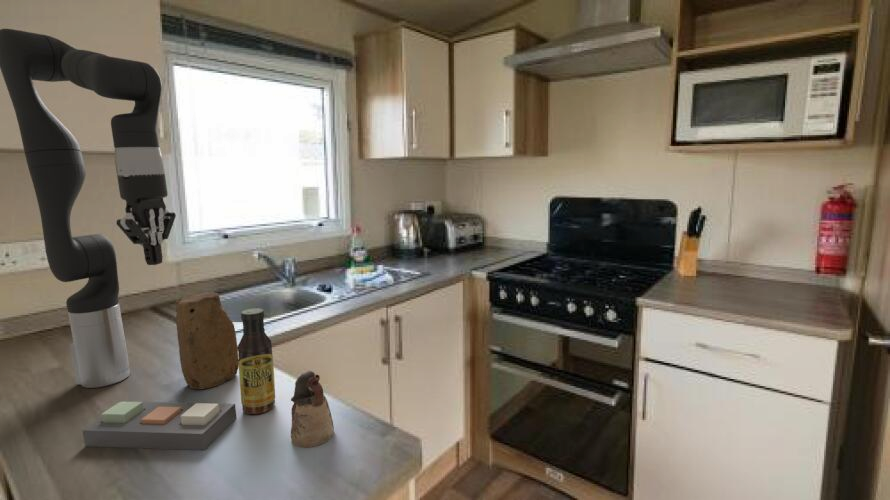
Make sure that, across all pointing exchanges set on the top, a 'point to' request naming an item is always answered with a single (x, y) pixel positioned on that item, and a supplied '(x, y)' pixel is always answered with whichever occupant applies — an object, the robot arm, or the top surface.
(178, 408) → the terracotta button
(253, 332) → the sauce bottle
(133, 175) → the robot arm
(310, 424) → the figurine
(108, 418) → the sage button
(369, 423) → the top surface
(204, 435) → the button panel
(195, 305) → the brown sandstone rock
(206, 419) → the cream button
